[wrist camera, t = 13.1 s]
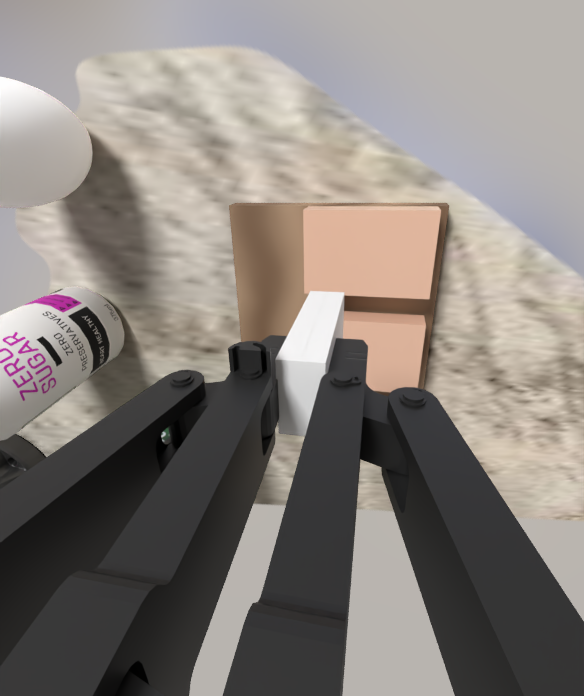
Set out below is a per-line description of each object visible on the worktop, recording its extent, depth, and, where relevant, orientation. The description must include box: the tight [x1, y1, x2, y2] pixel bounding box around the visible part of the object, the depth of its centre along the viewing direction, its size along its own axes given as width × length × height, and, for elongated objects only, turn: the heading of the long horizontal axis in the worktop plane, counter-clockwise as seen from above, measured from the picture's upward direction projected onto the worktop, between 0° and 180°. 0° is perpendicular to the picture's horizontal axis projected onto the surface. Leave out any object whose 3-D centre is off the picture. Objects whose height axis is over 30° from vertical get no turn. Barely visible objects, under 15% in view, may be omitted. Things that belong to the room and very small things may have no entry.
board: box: [229, 203, 449, 396], centre depth 34 cm, size 16×17×2 cm
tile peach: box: [303, 206, 441, 299], centre depth 29 cm, size 2×6×9 cm
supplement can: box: [0, 286, 125, 441], centre depth 34 cm, size 8×8×15 cm
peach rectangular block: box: [343, 311, 426, 392], centre depth 32 cm, size 2×6×9 cm
